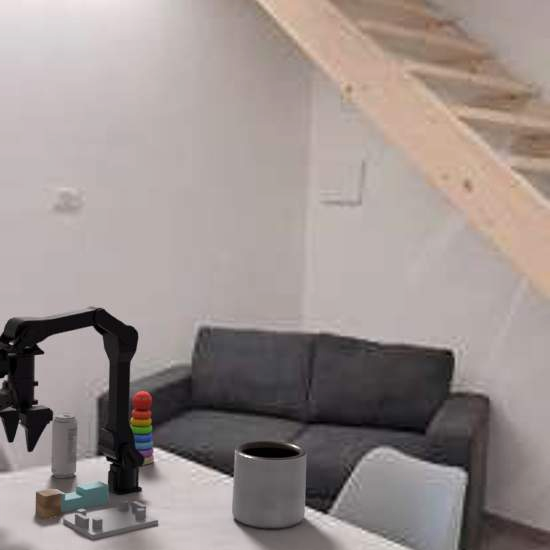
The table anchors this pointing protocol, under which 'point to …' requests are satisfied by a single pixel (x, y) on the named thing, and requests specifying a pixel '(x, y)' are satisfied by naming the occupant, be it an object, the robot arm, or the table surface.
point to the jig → (111, 520)
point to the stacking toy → (142, 425)
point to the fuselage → (85, 496)
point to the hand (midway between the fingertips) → (20, 447)
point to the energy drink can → (64, 445)
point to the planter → (269, 484)
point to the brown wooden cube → (48, 503)
